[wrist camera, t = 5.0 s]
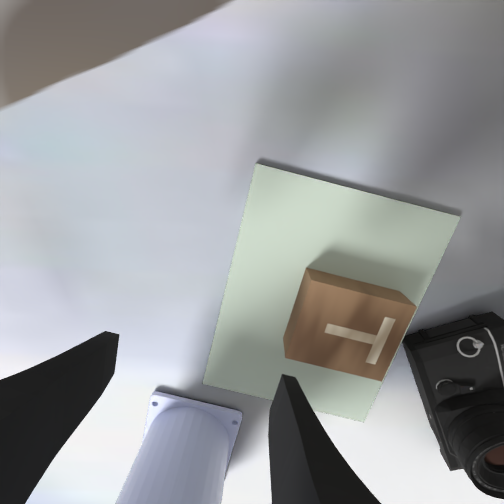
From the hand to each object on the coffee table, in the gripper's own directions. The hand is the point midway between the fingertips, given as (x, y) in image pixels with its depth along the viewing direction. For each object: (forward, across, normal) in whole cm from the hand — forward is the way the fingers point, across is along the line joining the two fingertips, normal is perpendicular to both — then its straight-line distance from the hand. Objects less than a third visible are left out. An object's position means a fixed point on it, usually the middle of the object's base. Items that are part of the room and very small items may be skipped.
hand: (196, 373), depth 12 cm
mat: (+10, -7, 0) cm, 12 cm away
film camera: (+10, -20, +3) cm, 23 cm away
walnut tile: (+8, -5, 0) cm, 9 cm away
